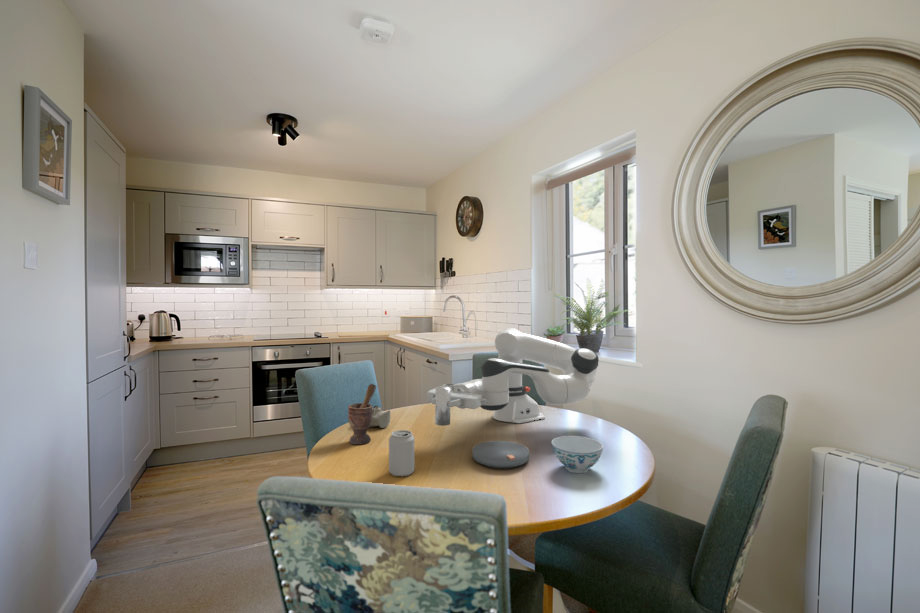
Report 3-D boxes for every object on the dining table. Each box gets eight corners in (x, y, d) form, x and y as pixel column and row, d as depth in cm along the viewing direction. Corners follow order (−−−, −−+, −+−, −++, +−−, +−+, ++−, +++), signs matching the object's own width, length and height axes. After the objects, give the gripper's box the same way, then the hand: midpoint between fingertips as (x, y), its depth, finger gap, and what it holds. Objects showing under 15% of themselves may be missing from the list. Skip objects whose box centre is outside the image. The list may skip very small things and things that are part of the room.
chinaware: (572, 482, 119) (572, 455, 119) (541, 463, 133) (541, 439, 133) (613, 474, 125) (613, 447, 125) (580, 457, 139) (580, 433, 139)
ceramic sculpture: (381, 409, 165) (351, 407, 172) (382, 431, 165) (352, 429, 172) (397, 403, 175) (367, 402, 181) (398, 425, 175) (368, 422, 181)
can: (409, 479, 122) (409, 437, 121) (385, 476, 123) (385, 435, 123) (417, 469, 129) (417, 429, 129) (394, 467, 130) (394, 428, 130)
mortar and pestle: (357, 434, 162) (357, 382, 162) (379, 435, 161) (379, 383, 160) (344, 444, 151) (344, 388, 150) (367, 446, 149) (367, 389, 149)
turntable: (464, 450, 142) (464, 442, 142) (513, 444, 148) (513, 436, 148) (485, 470, 125) (485, 461, 125) (539, 462, 131) (539, 454, 131)
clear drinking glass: (447, 420, 145) (447, 385, 145) (452, 424, 141) (452, 388, 141) (433, 422, 144) (433, 386, 144) (437, 426, 139) (437, 389, 139)
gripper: (488, 408, 148) (467, 417, 136) (440, 400, 159) (417, 408, 147) (488, 390, 147) (468, 397, 136) (440, 383, 158) (417, 390, 147)
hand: (441, 403), depth 141 cm, fingers closed on clear drinking glass, 5 cm apart
